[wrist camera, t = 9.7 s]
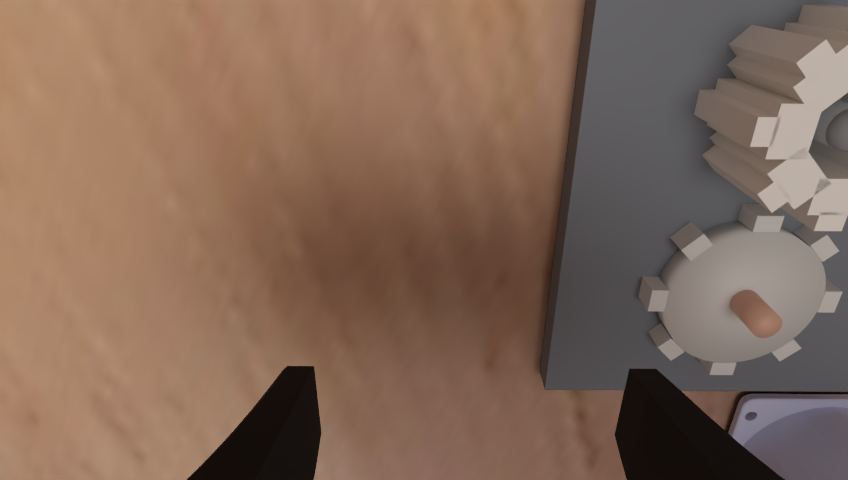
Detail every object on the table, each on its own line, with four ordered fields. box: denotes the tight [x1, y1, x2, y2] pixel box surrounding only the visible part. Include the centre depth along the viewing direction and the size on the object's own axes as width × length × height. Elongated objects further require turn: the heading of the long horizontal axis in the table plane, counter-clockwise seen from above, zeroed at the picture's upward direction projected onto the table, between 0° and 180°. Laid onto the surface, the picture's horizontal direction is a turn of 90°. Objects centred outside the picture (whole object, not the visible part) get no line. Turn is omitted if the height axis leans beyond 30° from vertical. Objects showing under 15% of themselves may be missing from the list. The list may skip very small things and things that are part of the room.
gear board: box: [540, 0, 848, 392], centre depth 17 cm, size 24×13×5 cm, turn 0°
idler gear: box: [694, 4, 848, 231], centre depth 16 cm, size 6×6×4 cm
